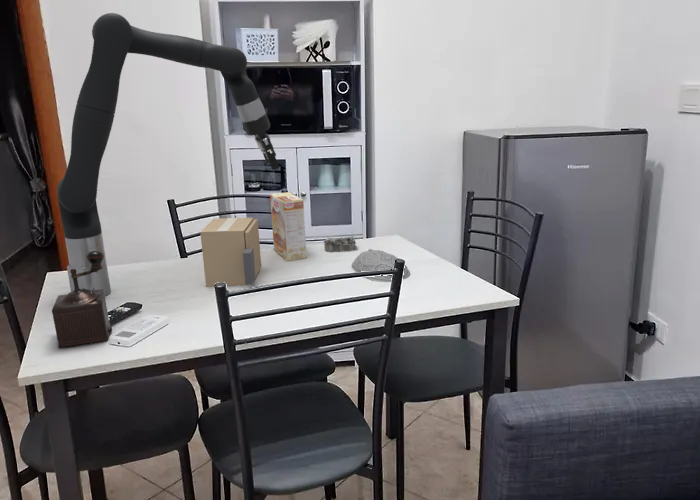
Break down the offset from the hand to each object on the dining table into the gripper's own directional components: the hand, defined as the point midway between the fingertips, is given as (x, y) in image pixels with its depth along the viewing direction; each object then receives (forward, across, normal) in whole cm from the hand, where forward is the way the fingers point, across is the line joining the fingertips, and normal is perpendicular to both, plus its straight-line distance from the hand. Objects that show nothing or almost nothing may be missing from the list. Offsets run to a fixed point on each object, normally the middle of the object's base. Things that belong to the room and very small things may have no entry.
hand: (273, 165), depth 181 cm
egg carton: (+37, 0, +11) cm, 38 cm away
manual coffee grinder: (+7, +41, -60) cm, 73 cm away
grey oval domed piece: (+35, +26, +16) cm, 46 cm away
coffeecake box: (+31, -2, -6) cm, 32 cm away
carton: (+22, +15, -25) cm, 36 cm away
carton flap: (+23, +19, -19) cm, 35 cm away
